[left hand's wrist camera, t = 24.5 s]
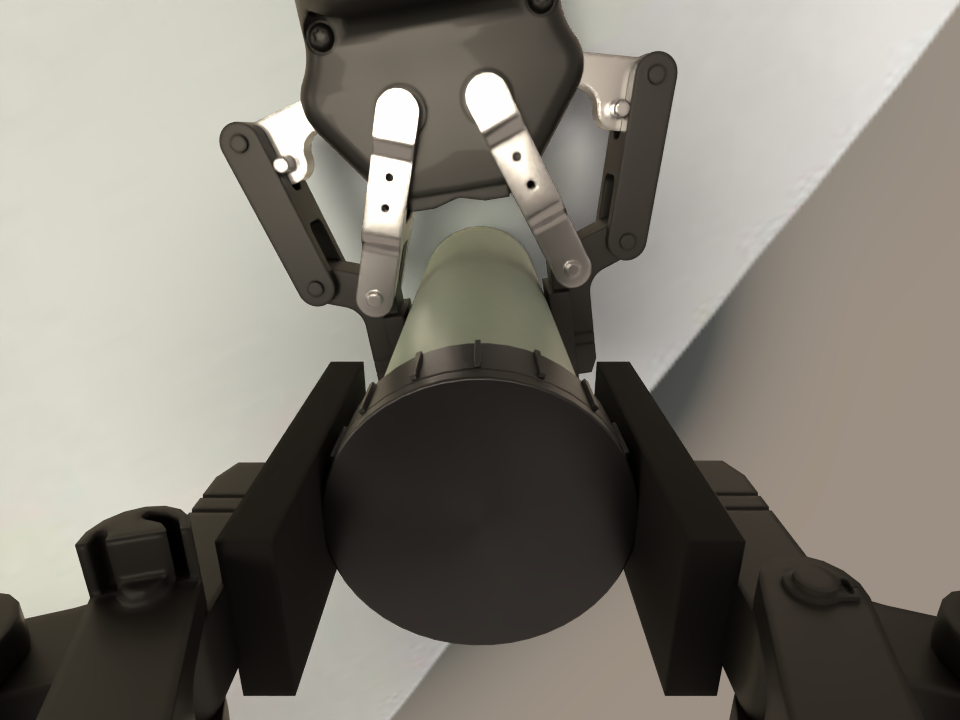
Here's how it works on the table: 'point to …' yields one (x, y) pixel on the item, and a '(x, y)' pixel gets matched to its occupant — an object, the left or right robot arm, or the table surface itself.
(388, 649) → the table surface
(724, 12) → the table surface
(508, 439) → the lid
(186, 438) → the table surface
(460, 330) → the bottle
